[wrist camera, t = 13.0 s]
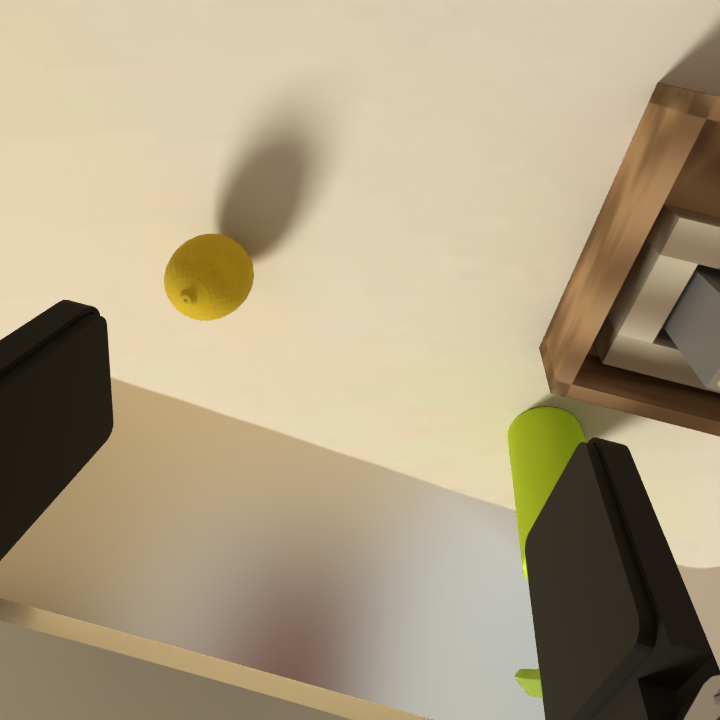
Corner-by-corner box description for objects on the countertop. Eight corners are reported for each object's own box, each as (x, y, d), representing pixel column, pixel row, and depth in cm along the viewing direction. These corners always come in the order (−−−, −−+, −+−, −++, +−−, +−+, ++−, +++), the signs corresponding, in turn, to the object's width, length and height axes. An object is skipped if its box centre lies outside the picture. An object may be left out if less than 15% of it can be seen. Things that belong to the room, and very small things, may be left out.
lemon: (183, 237, 40) (126, 276, 33) (244, 208, 38) (196, 244, 31) (221, 300, 42) (175, 349, 35) (280, 276, 40) (244, 324, 34)
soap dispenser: (483, 426, 44) (497, 664, 27) (565, 396, 42) (637, 640, 25) (514, 475, 46) (544, 724, 30) (593, 449, 44) (677, 707, 27)
